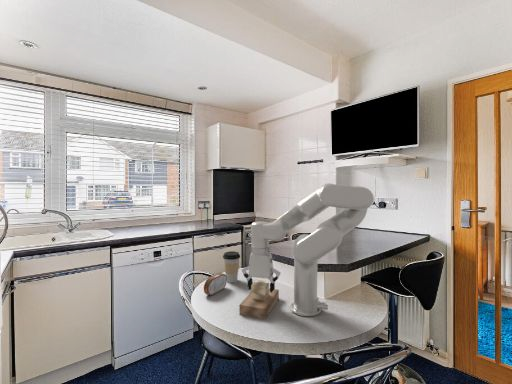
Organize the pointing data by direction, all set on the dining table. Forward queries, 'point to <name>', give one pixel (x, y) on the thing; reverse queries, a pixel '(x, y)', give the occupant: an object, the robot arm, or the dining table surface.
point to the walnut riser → (258, 305)
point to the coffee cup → (231, 265)
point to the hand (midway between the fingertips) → (261, 290)
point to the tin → (215, 284)
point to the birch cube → (260, 290)
